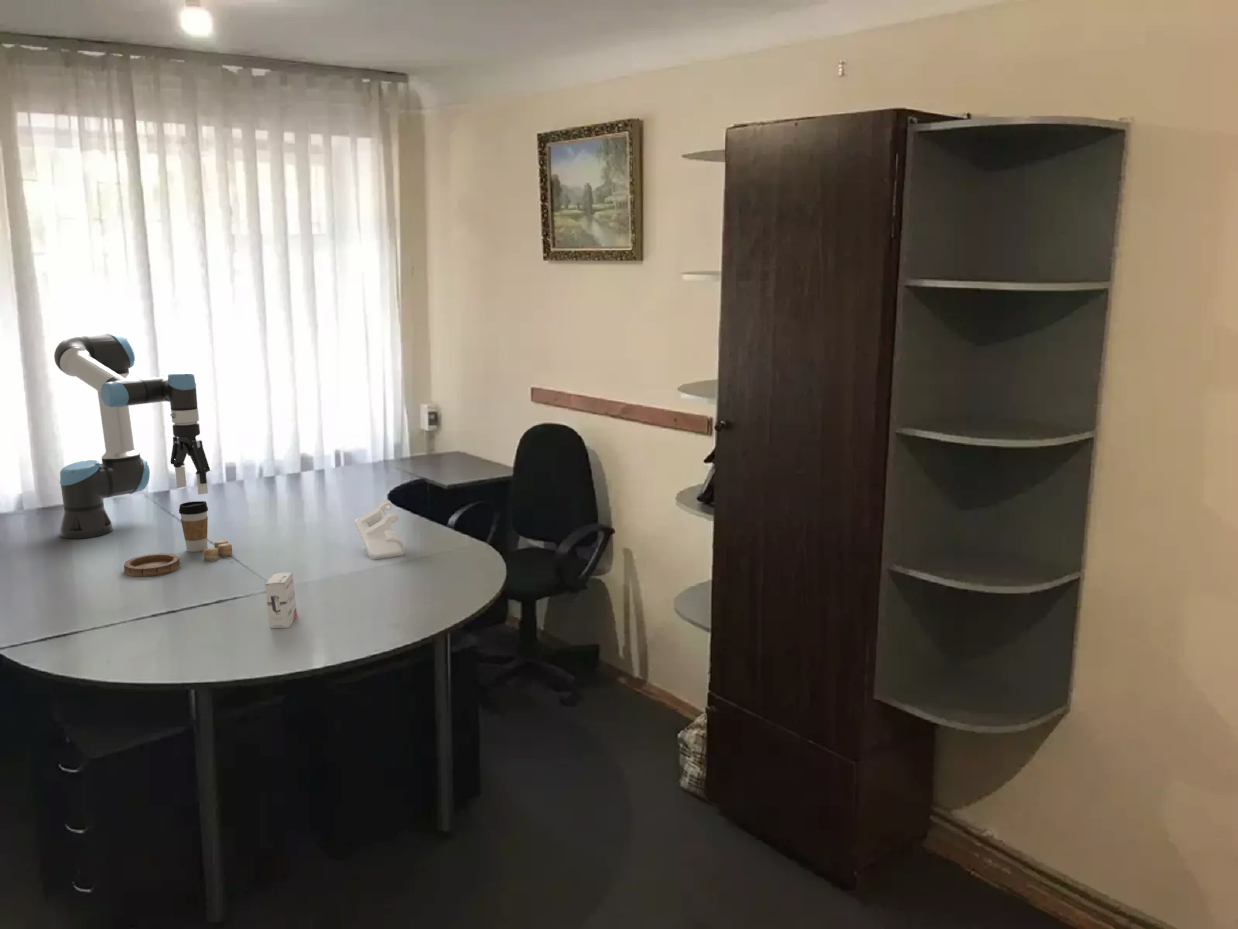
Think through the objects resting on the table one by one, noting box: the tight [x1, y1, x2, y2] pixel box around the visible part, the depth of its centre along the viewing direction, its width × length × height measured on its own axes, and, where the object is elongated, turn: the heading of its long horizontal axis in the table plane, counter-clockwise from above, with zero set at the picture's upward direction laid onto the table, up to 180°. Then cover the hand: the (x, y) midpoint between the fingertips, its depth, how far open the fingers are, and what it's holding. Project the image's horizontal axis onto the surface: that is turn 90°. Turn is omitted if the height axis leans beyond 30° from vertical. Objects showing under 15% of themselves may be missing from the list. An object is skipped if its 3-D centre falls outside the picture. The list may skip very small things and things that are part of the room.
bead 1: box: [203, 547, 220, 562], centre depth 293 cm, size 4×4×3 cm
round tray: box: [123, 552, 182, 578], centre depth 283 cm, size 15×15×2 cm
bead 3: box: [218, 543, 233, 557], centre depth 297 cm, size 4×4×3 cm
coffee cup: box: [178, 500, 209, 553], centre depth 301 cm, size 8×8×15 cm
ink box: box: [264, 572, 298, 629], centre depth 242 cm, size 9×5×12 cm, turn 5°
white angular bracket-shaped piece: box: [354, 500, 406, 560], centre depth 302 cm, size 20×11×13 cm, turn 32°
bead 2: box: [214, 539, 229, 548], centre depth 300 cm, size 4×4×3 cm
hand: (192, 490), depth 298 cm, fingers open, 13 cm apart
